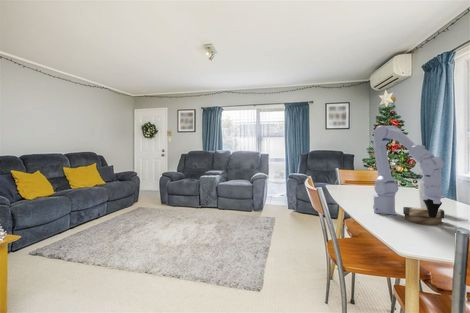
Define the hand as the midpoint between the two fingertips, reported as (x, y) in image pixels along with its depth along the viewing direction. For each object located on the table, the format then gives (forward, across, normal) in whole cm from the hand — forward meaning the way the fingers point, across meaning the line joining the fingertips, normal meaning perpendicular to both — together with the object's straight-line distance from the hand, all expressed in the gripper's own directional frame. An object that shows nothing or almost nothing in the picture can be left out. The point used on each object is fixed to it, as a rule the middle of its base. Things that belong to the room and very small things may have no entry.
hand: (432, 217), depth 100 cm
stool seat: (+3, +5, +3) cm, 6 cm away
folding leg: (+1, +5, +3) cm, 5 cm away
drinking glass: (+3, +24, -3) cm, 24 cm away
